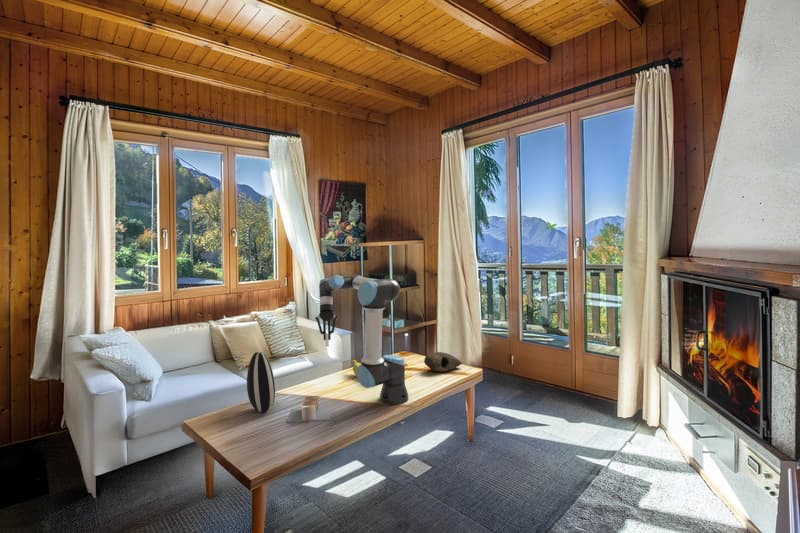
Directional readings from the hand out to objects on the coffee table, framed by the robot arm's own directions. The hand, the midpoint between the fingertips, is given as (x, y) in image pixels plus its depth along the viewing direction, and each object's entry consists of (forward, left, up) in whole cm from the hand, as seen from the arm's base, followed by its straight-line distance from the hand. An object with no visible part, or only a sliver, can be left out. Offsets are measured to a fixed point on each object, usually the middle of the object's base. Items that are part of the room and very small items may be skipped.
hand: (327, 345), depth 230 cm
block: (+6, +22, -23) cm, 32 cm away
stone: (-70, -31, -27) cm, 81 cm away
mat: (+6, +30, -26) cm, 40 cm away
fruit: (-21, -20, -27) cm, 39 cm away
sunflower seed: (+31, +22, -27) cm, 46 cm away
